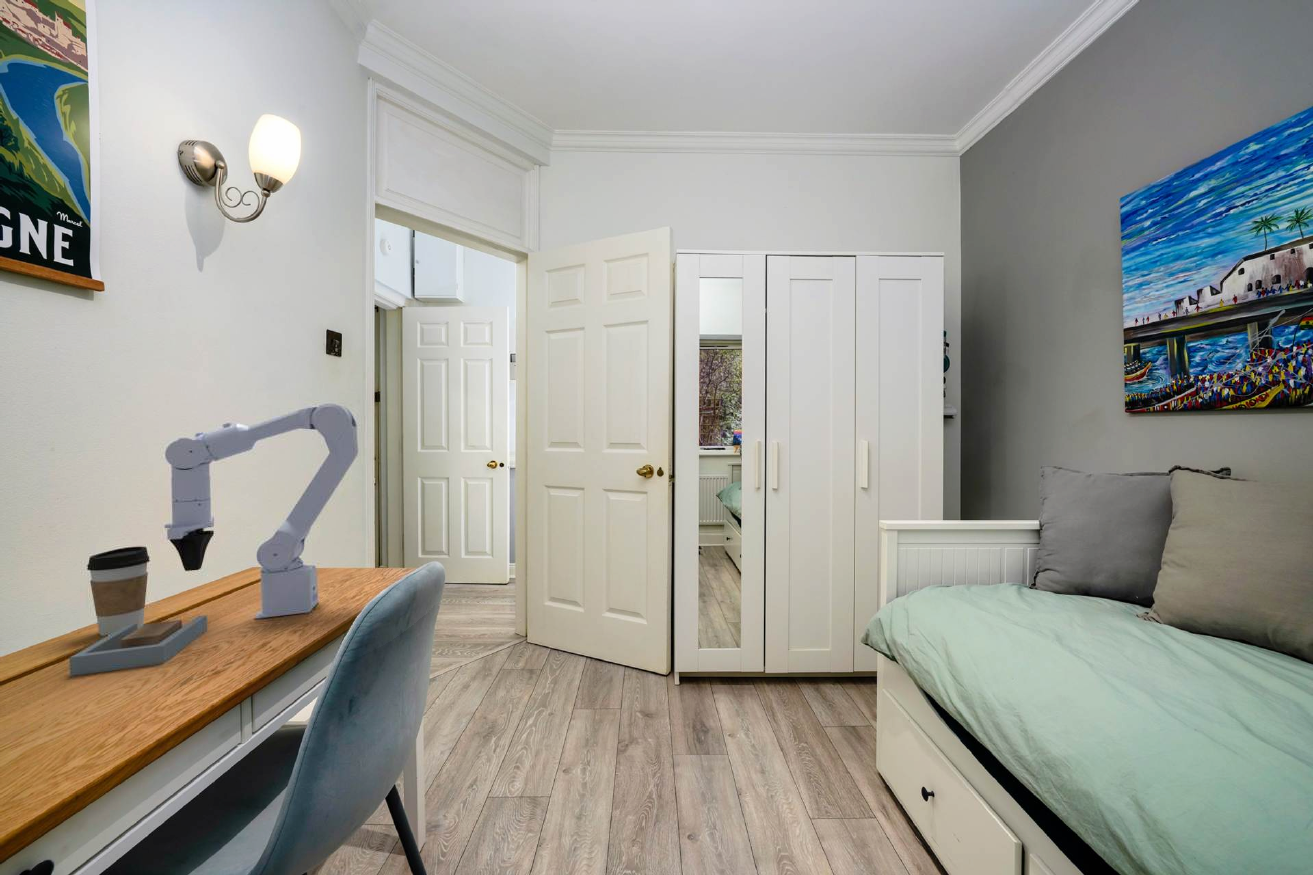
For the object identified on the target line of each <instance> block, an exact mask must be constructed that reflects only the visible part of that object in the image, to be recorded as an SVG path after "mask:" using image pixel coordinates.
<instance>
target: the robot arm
mask: <svg viewBox="0 0 1313 875" xmlns="http://www.w3.org/2000/svg"><path fill="white" fill-rule="evenodd" d="M299 429H305V430H316V431H317V432H318V434H320V435H321V437H323V439H324V441H325V444H326V446H327V448H328V451H329V453H328V455H327V456H326V458H325V460H324V462H323V463H322V464H321V466H320V467H319V469H318V471H316V473H315V474H314V476H313V478H312V479H311V481H310V482H309V484H308V486H306V489H305V490H304V492H303V493H302V494H301V497H299V499H298V501H297V502H296V503H295V505H294V507H293V508H292V510H291V512H290V513H289V514H288V516H287V517H286V519H285V520H284V522H282V524H281V525H280V526H279V527H278V529H277V530H276V531H275V533H274V534H273V536H271V537H270V538H269V539H267V540H266V541H265V542H263V543H262V544H261V545H260V546H259V547H258V548H257V551H256V561H257V562H258V564H259V565H260V588H261V589H260V590H261V593H260V594H261V596H260V598H261V610H260V611H258V613H257V614H255V615H254V616H253V618H254V619H262V618H272V617H280V616H288V615H290V616H291V615H297V614H307V613H310V612H311V611H312V610H313V609H314V607H316V605H317V604H318V603H319V602H320V601H319V600H320V599H319V592H318V590H319V588H318V571H317V567H316V565H314V564H313V565H308V564H307V565H305V564H304V561H303V560H302V558H301V557H300V556H301V555H302V553H303V552H304V549H305V542H306V539H307V536H308V535H309V533H310V530H311V528H312V527H313V525H314V523H315V522H316V521H317V519H318V517H319V516H320V514H321V512H322V511H323V510H324V508H325V506H326V505H327V503H328V502H329V500H330V499H331V497H332V495H333V494H334V492H335V490H336V489H337V488H338V486H339V485H340V483H341V482H342V480H343V478H344V477H345V475H347V472H348V471H349V469H350V468H351V466H352V464H353V463H354V462H355V459H356V458H357V457H358V455H359V446H358V442H359V441H358V432H357V430H358V424H357V421H356V419H355V418H354V415H353V414H352V412H351V411H350V410H349V408H347V407H346V406H342V405H339V404H335V403H331V402H330V403H322V404H320V405H318V406H316V405H315V406H309V407H305V408H299V409H297V410H294V411H291V412H288V413H285V414H282V415H279V416H275V417H274V418H271V419H270V418H269V419H268V420H264V421H262V422H259V423H256V424H253V425H250V426H247V425H245V424H242V423H240V422H239V423H238V422H237V423H235V424H233V422H226V423H223V424H222V427H221V428H218V429H215V430H212V431H208V432H205V433H204V432H203V431H202V432H201V431H200V432H197V433H195V434H194V438H190V437H180V438H178V439H177V440H175V441H173V442H171V443H170V444H168V446H167V447H166V449H165V452H164V454H165V459H166V461H167V462H168V464H170V465H171V482H170V483H171V514H172V515H171V520H172V521H171V522H170V523H167V524H164V528H165V529H167V531H166V534H167V537H166V538H167V540H169V541H170V543H171V544H172V545H173V547H174V548H175V549H176V551H177V553H178V555H179V558H180V560H181V564H182V567H183V569H184V571H185V572H190V571H191V572H193V571H199V570H201V569H202V566H203V563H204V559H205V554H206V551H207V548H208V546H209V543H210V541H211V539H212V538H213V536H214V534H215V531H214V530H205V529H207V528H213V527H215V518H214V517H213V516H212V509H211V507H212V504H211V502H212V501H211V500H212V498H211V474H210V472H211V471H210V464H211V463H212V462H216V461H220V460H224V459H226V458H229V457H233V456H235V455H238V454H242V453H245V452H248V451H251V450H252V449H253V447H254V446H255V444H256V442H258V441H261V440H265V439H267V438H273V437H275V436H277V435H282V434H285V433H288V432H291V431H292V432H293V431H295V430H299Z"/></svg>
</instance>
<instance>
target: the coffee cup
mask: <svg viewBox="0 0 1313 875" xmlns="http://www.w3.org/2000/svg"><path fill="white" fill-rule="evenodd" d="M149 562H150V556H149V553H148V550H147V547H146V546H141V545H140V546H138V545H137V546H129V547H121V548H117V549H116V548H115V549H112V550H108V551H105V552H104V551H103V552H101V553H97V554H93V555H91V556H90V557H89V560H88V564H87V565H86V567H87V569H86V570H87V571H89V572H90V578H91V580H90V581H89V582H90V587H91V594H92V600H93V605H94V610H95V615H96V620H97V629H98V634H99V635H100V636H102V637H107V636H106V635H110V634H112V633H114V632H116V631H118V630H119V629H121V628H123V627H125V626H126V625H128V624H134V623H137V628H138V629H139V628H141V627H142V626H144V624H145V623H144V622H145V621H144V620H145V619H144V618H145V607H146V599H147V597H146V596H147V587H148V586H147V584H148V577H149V576H148V575H149V572H147V570H148V563H149Z"/></svg>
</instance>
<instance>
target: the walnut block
mask: <svg viewBox="0 0 1313 875" xmlns="http://www.w3.org/2000/svg"><path fill="white" fill-rule="evenodd" d="M182 627H183V619H177V620H176V619H175V620H167V621H161V622H160V621H159V622H152V623H146V624H145V623H144V624H143V626H142V627H141V628H139V629H137V630H136V631H134V632H133V633H131V634H129V635H128V636H126V637H125V638H123V639H121V649H124V648H132V647H140V646H148V645H156V644H159V643H160V642H162V641H163V640H165V639H166V638H168V637H169V636H171V635H172V634H173V633H175V632H176V631H178V630H179V629H181V628H182Z"/></svg>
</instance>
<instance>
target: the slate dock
mask: <svg viewBox="0 0 1313 875" xmlns="http://www.w3.org/2000/svg"><path fill="white" fill-rule="evenodd" d="M137 629H138V628H137V623H134V624H128V625H126V626H125V627H123V628H121V629H119V630H118V631H116V632H114V633H112V634H110V635H109V636H104V637H103V638H102V639H100V640H98V641H96V642H94V643H93V644H91V645H89V646H88V647H86V648H84V649H82V650H81V651H78V652H77V653H75V654H74V655H72V656H70V657H69V676H70V677H73V676H74V677H75V676H79V675H80V676H81V675H88V674H94V673H101V672H102V673H104V672H109V671H117V670H125V669H131V668H139V667H145V666H146V667H147V666H152V665H153V666H154V665H160V664H165V663H166V662H168V661H169V660H170V659H171V658H173V657H174V656H175V655H176V654H179V653H180V651H182V650H183V649H184V648H186V647H187V646H189V645H190V644H191V643H193V642H194V641H195V640H196V639H198V638H199V637H201V636H202V635H203V634H204V633H206V632H207V631H208V615H207V614H205V615H204V614H203V615H198V616H196V617H195V618H194V619H192V620H191V621H189V622H188V623H186V624H185V625H184V626H182V628H181V629H179V630H178V631H176V632H175V633H173V634H172V635H171V636H169V637H168V638H166V639H165V640H163V641H162V642H160V643H159V644H156V645H148V646H140V647H132V648H124V649H121V639H123V638H125V637H126V636H128V635H129V634H131V633H133V632H134V631H136V630H137Z"/></svg>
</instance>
